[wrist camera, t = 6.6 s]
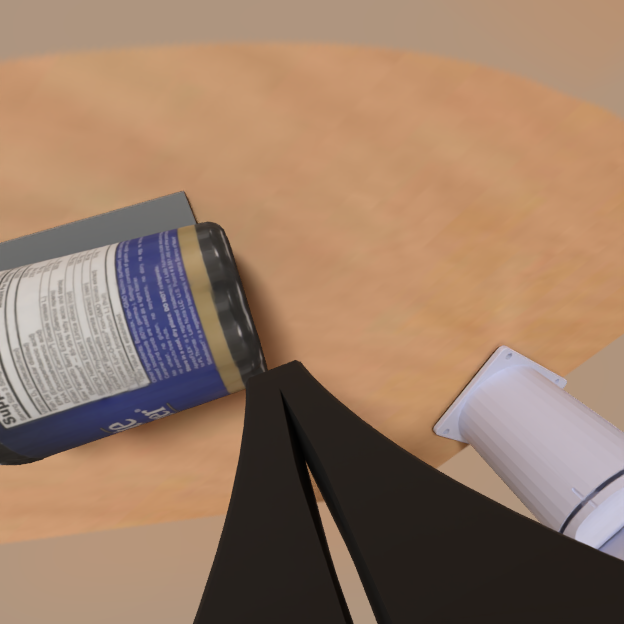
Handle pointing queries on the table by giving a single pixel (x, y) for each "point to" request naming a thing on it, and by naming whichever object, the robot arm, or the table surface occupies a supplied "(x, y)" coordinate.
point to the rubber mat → (98, 231)
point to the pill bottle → (120, 339)
